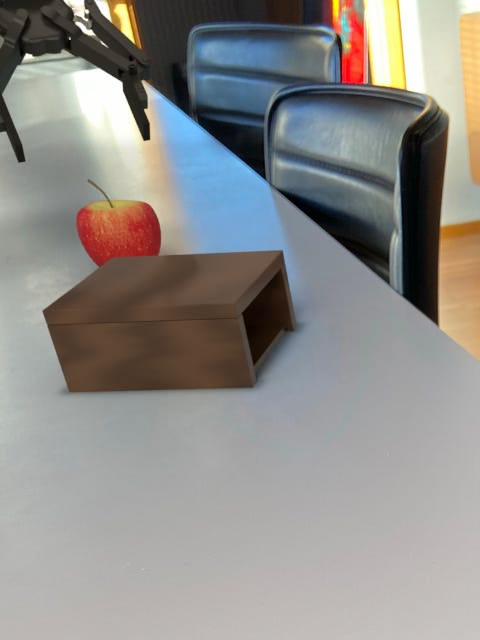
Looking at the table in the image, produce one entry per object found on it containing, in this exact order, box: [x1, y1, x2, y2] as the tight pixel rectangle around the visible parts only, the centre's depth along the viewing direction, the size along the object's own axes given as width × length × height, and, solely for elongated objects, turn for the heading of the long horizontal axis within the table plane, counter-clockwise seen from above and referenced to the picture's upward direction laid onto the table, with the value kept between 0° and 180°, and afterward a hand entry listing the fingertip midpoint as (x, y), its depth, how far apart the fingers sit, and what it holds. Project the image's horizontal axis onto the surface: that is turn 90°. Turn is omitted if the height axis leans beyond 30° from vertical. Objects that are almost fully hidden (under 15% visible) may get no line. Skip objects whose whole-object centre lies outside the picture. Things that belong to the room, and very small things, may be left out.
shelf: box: [42, 249, 298, 393], centre depth 87 cm, size 16×14×7 cm
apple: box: [75, 178, 162, 268], centre depth 109 cm, size 8×8×10 cm
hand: (85, 143), depth 110 cm, fingers open, 13 cm apart
